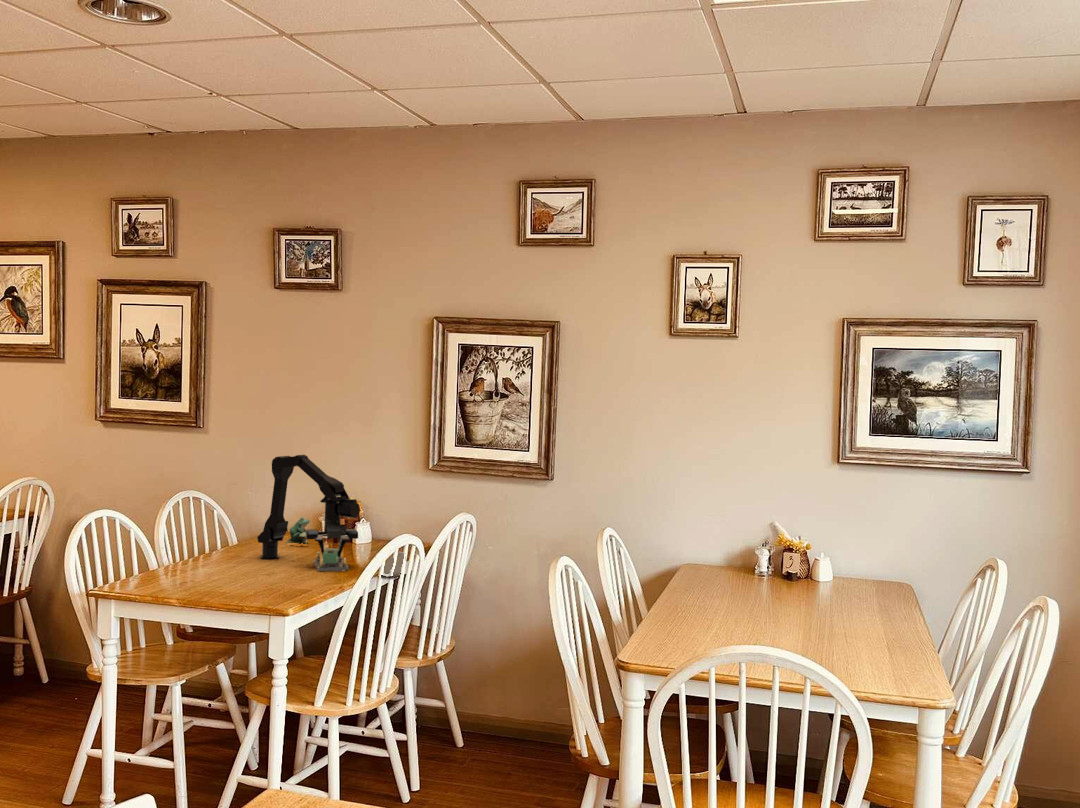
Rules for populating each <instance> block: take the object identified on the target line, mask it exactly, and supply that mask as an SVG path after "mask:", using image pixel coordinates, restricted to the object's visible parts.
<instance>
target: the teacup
mask: <svg viewBox="0 0 1080 808" xmlns="http://www.w3.org/2000/svg"><path fill="white" fill-rule="evenodd" d="M378 553H379V552H377V553H376V554H375V555H374V556H375V557H376V555H377V554H378ZM404 553H405V552H402V551H399V552H398V557H397V563H396V566H395V569H394V572H393V577H392V578H396V577H400V575H401V574H400V572H401V567H402V564H403V559H404ZM393 563H394V558H393V555H391V556H390V558H388V560H387V562H386V564H385V566H384V573H385V574H389V573H390V570H391V569H392V567H393ZM399 574H400V575H399Z"/></svg>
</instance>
